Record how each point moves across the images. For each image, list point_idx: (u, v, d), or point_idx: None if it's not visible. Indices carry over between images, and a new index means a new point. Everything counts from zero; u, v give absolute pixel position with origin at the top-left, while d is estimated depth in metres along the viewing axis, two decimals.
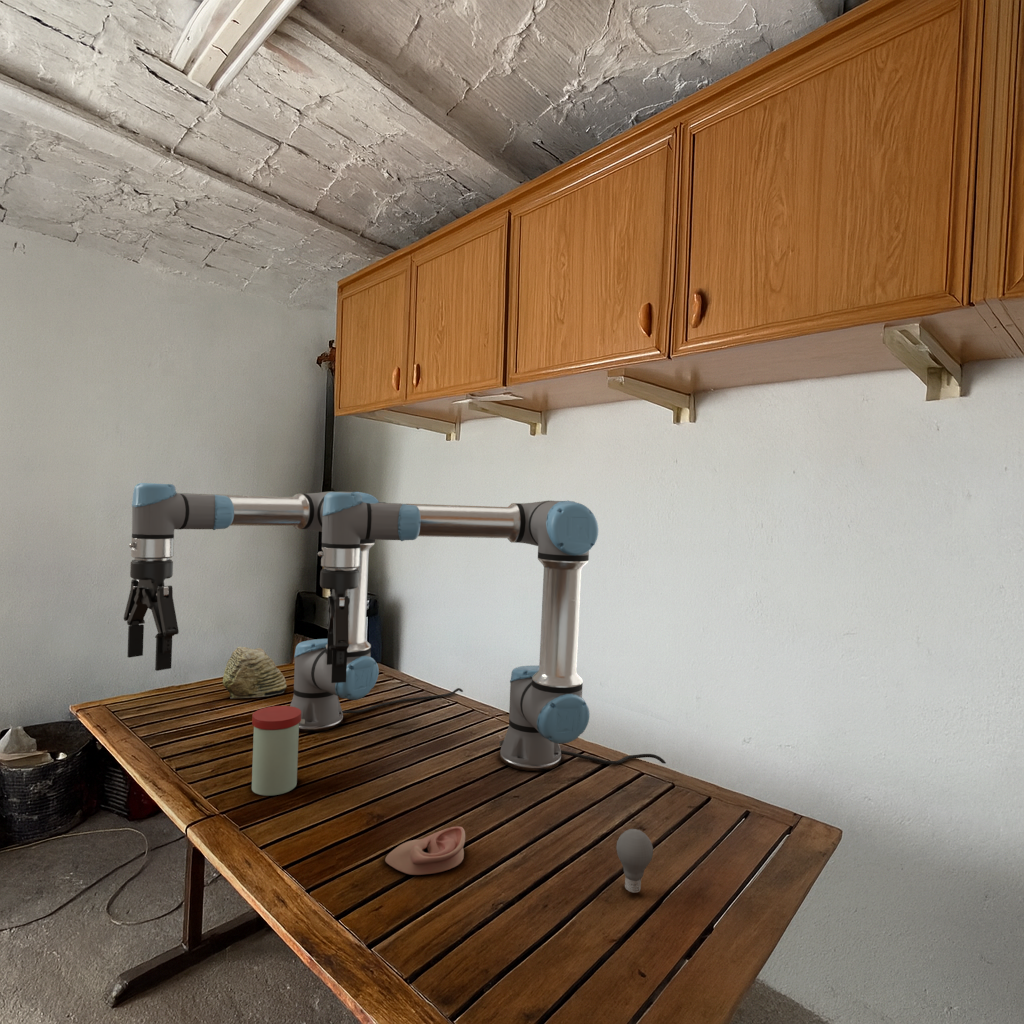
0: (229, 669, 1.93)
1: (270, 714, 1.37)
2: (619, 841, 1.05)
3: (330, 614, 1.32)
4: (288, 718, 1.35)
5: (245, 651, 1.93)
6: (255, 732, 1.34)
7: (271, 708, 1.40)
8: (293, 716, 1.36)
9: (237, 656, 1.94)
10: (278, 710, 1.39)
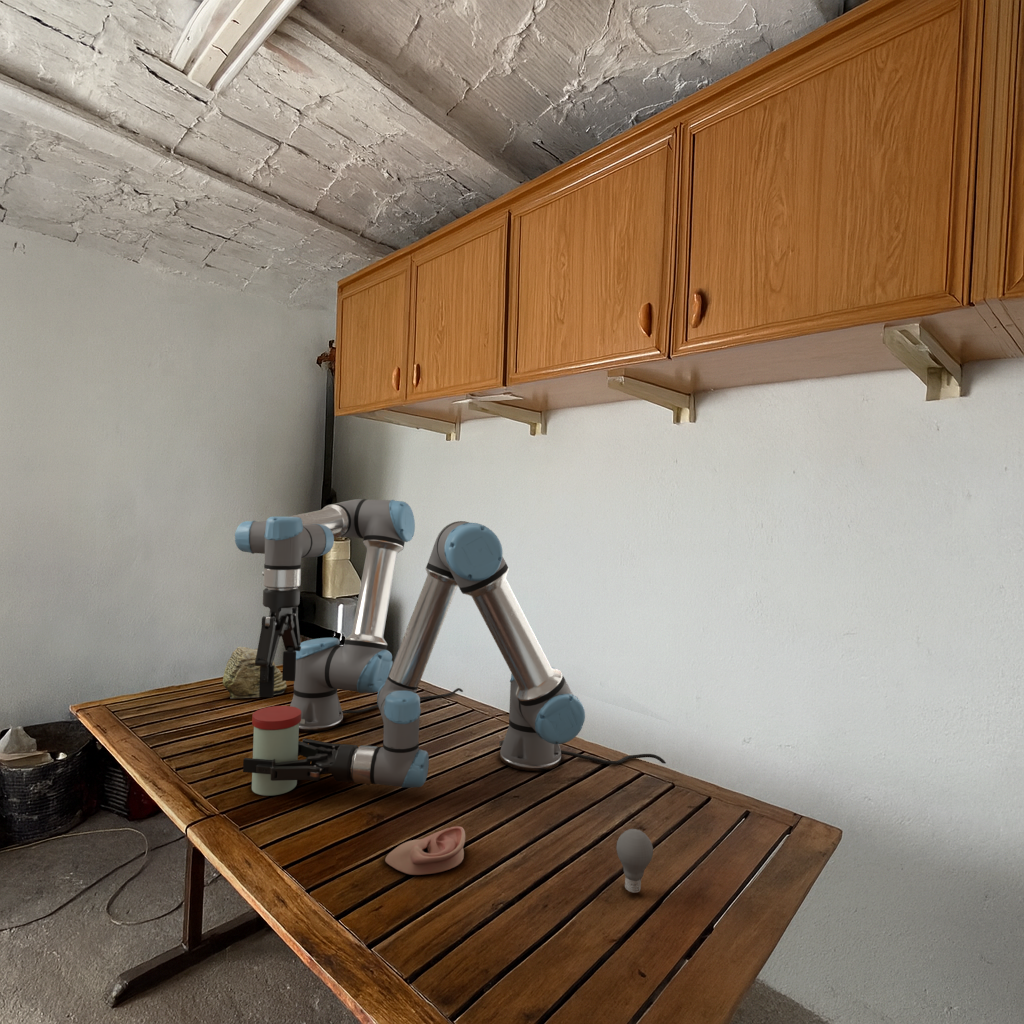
0: (229, 669, 1.93)
1: (270, 714, 1.37)
2: (619, 841, 1.05)
3: None
4: (288, 718, 1.35)
5: (245, 651, 1.93)
6: (255, 732, 1.34)
7: (271, 708, 1.40)
8: (293, 716, 1.36)
9: (237, 656, 1.94)
10: (278, 710, 1.39)
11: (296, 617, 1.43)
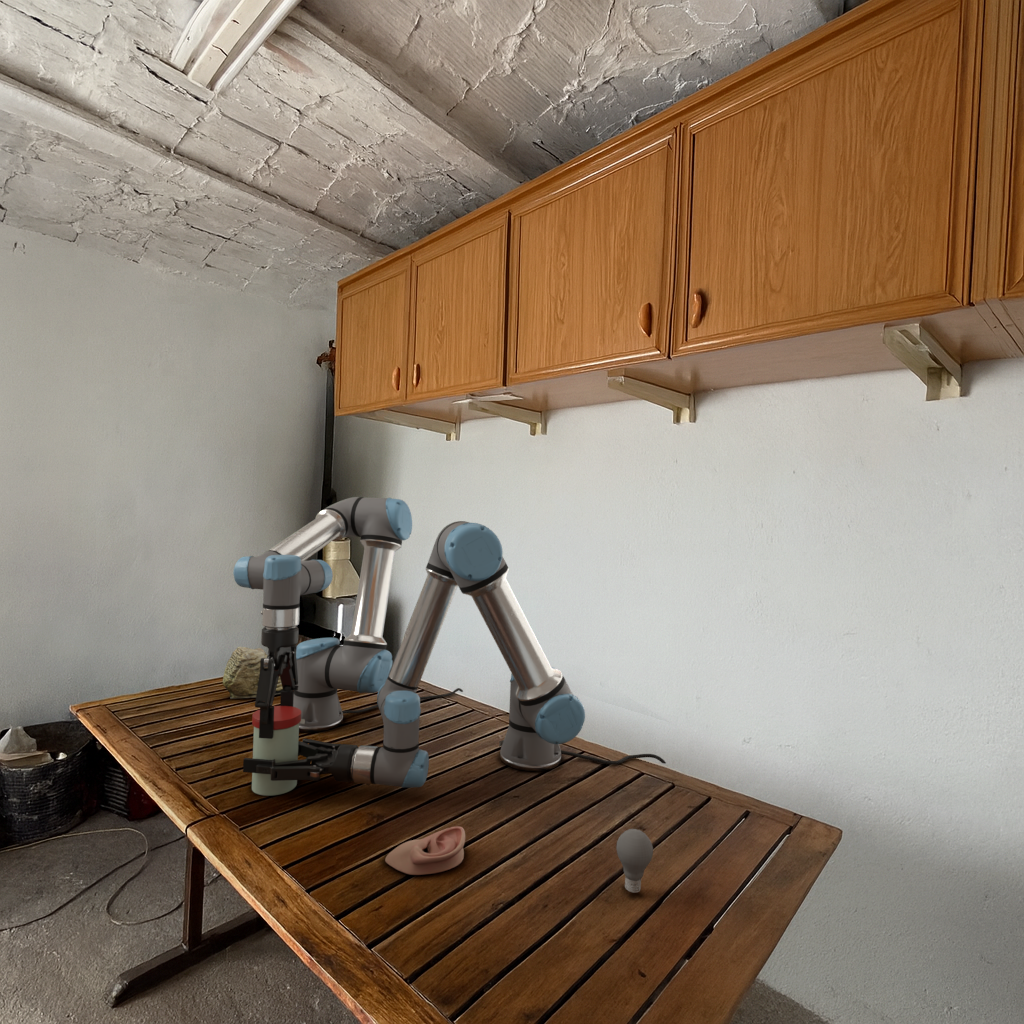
0: (229, 669, 1.93)
1: None
2: (619, 841, 1.05)
3: None
4: (288, 718, 1.35)
5: (245, 651, 1.93)
6: (255, 732, 1.34)
7: None
8: (293, 716, 1.36)
9: (237, 656, 1.94)
10: (278, 710, 1.39)
11: (294, 655, 1.43)
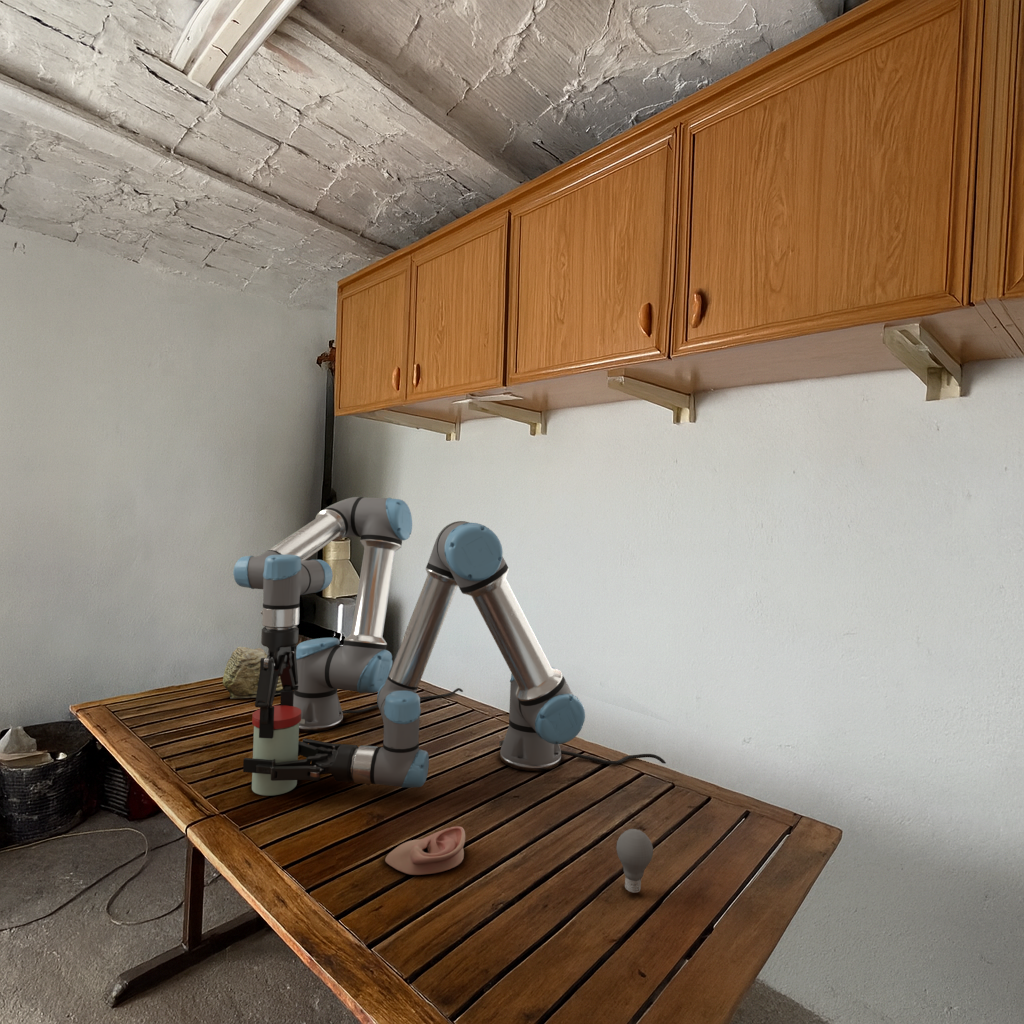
0: (229, 669, 1.93)
1: (279, 714, 1.36)
2: (619, 841, 1.05)
3: None
4: (296, 708, 1.41)
5: (245, 651, 1.93)
6: (255, 732, 1.34)
7: None
8: (291, 707, 1.42)
9: (237, 656, 1.94)
10: None
11: (294, 655, 1.43)
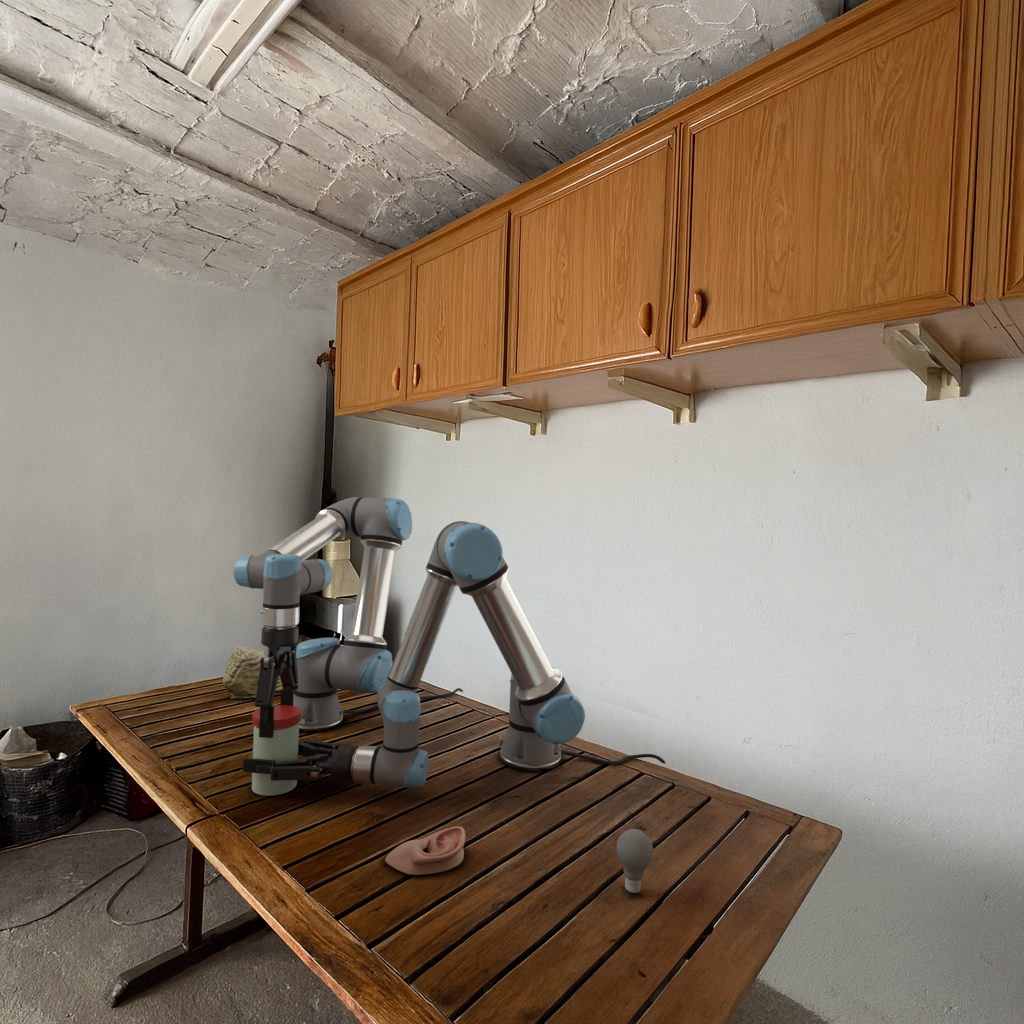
0: (229, 669, 1.93)
1: (284, 711, 1.38)
2: (619, 841, 1.05)
3: None
4: None
5: (245, 651, 1.93)
6: (255, 732, 1.34)
7: (280, 717, 1.35)
8: None
9: (237, 656, 1.94)
10: (274, 715, 1.36)
11: (294, 655, 1.43)
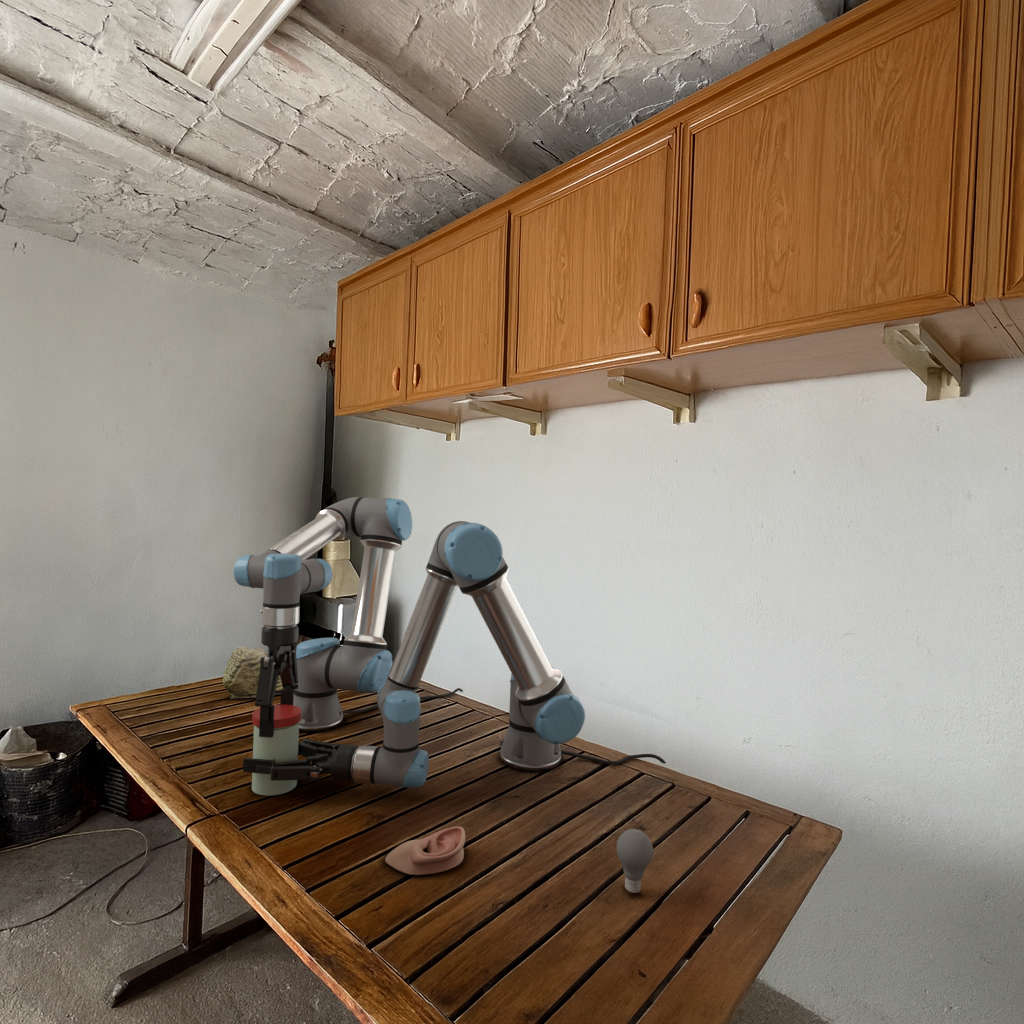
0: (229, 669, 1.93)
1: (276, 709, 1.39)
2: (619, 841, 1.05)
3: None
4: (256, 715, 1.35)
5: (245, 651, 1.93)
6: (255, 732, 1.34)
7: (294, 710, 1.39)
8: (259, 717, 1.34)
9: (237, 656, 1.94)
10: (286, 712, 1.38)
11: (294, 654, 1.43)
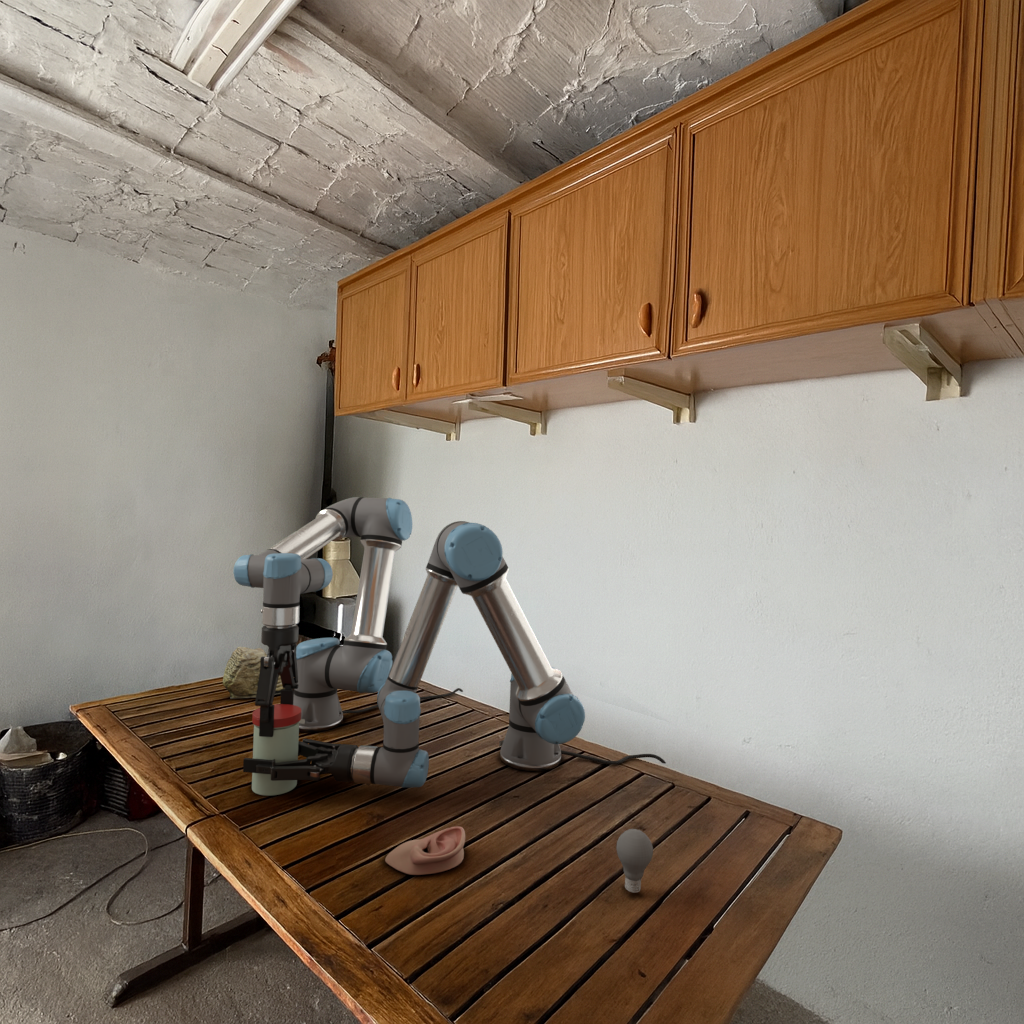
0: (229, 669, 1.93)
1: None
2: (619, 841, 1.05)
3: None
4: (283, 717, 1.34)
5: (245, 651, 1.93)
6: (255, 732, 1.34)
7: (276, 706, 1.41)
8: (289, 716, 1.35)
9: (237, 656, 1.94)
10: (280, 708, 1.39)
11: (294, 654, 1.43)
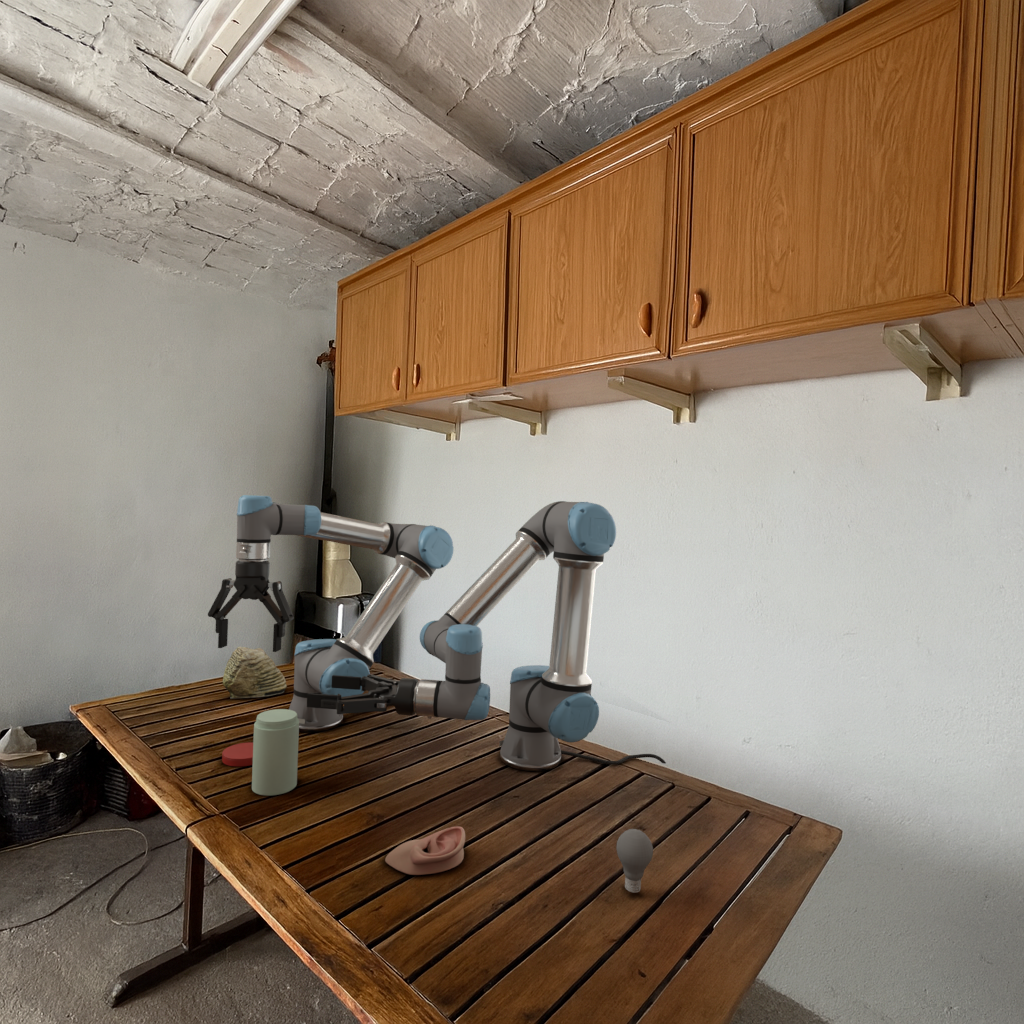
0: (229, 669, 1.93)
1: (251, 749, 1.52)
2: (619, 841, 1.05)
3: None
4: (243, 743, 1.55)
5: (245, 651, 1.93)
6: (255, 732, 1.34)
7: (243, 756, 1.48)
8: (237, 744, 1.54)
9: (237, 656, 1.94)
10: (240, 753, 1.50)
11: None
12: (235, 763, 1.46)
